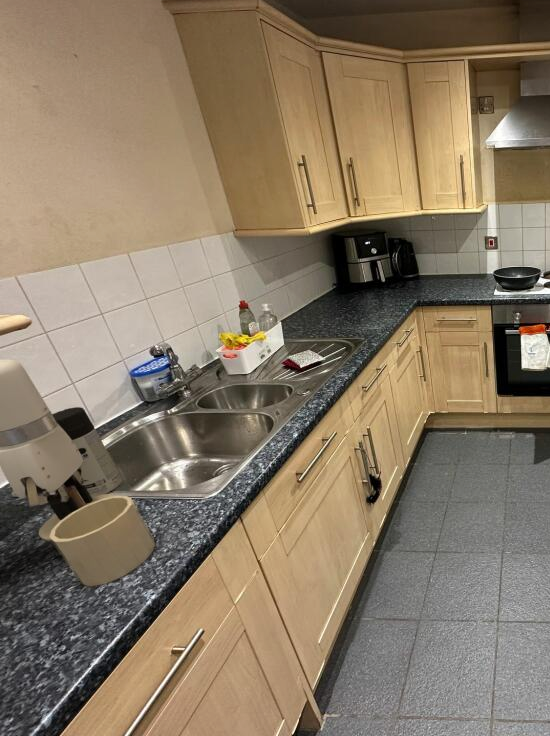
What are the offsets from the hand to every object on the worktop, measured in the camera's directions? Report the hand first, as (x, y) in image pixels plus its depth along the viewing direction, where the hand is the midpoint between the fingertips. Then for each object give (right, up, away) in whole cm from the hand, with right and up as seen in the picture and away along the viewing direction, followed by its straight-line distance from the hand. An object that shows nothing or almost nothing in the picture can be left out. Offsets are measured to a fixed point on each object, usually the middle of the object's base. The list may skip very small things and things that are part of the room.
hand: (76, 509), depth 77 cm
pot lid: (0, -2, +1) cm, 2 cm away
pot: (+11, -8, -3) cm, 14 cm away
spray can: (-11, -2, +17) cm, 20 cm away
